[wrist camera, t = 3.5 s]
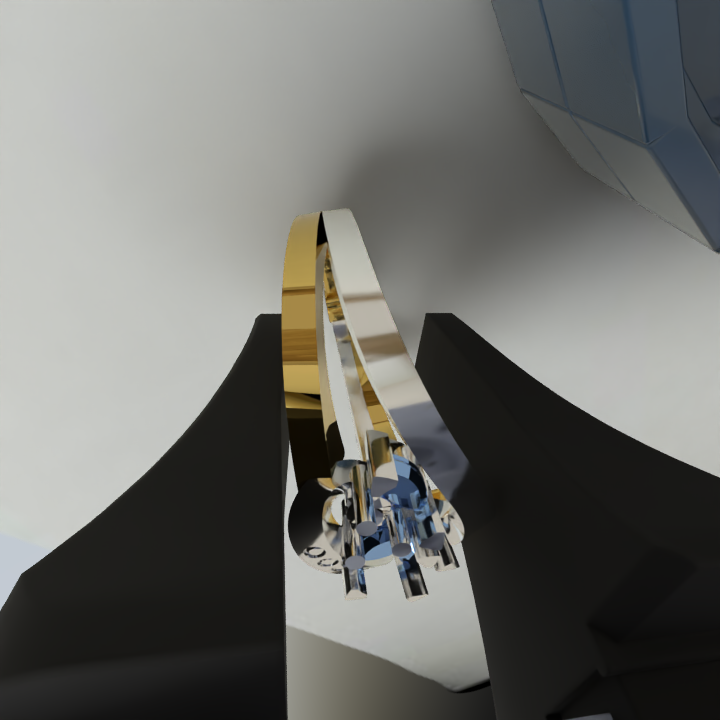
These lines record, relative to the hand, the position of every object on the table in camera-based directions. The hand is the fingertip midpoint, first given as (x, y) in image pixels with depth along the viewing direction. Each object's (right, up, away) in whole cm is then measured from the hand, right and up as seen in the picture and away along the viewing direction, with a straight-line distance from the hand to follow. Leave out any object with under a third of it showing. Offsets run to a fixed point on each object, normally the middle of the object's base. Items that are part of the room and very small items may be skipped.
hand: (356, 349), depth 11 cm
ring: (0, +2, +2) cm, 3 cm away
